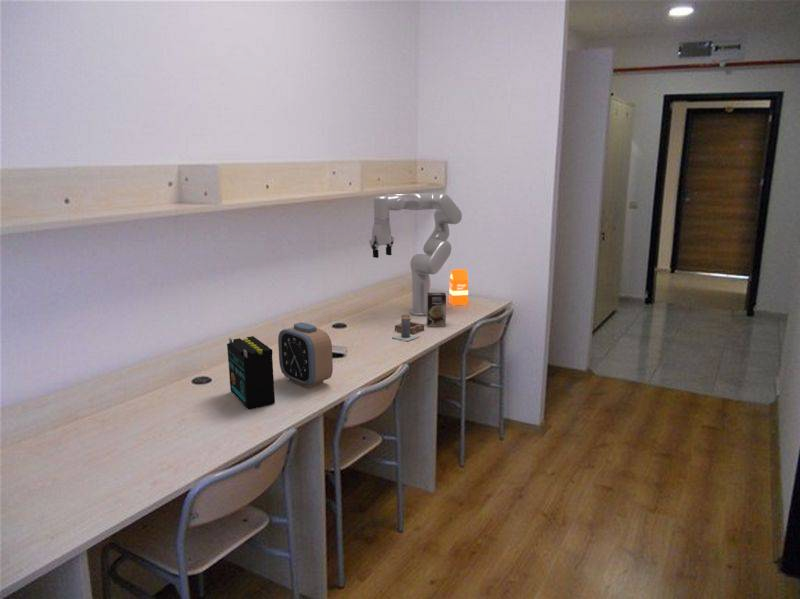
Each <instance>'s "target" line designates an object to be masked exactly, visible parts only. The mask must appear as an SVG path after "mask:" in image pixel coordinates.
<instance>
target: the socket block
mask: <svg viewBox="0 0 800 599" xmlns="http://www.w3.org/2000/svg"><path fill="white" fill-rule="evenodd" d="M395 331H397V332H396V333H399V332H401V323H398V324H395V325H394V332H395ZM420 331H421V332H425V324H423V323H420V322H419V323H418V322H415V321H410V334H413V335H416V334H418V332H419V333H421V332H420ZM415 333H416V334H415Z"/></svg>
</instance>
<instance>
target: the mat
mask: <svg viewBox="0 0 800 599" xmlns="http://www.w3.org/2000/svg"><path fill="white" fill-rule="evenodd" d="M418 337H420V335H417V334H413V335H412V334H410V337H409V338H403V337H401V333H400V334H397V335H394V336H392V337H391V338H392V339H393V338H395V339H394V340H397V339H399V340H398V341H401V340H404V341H403V342H405V341H408V342H411V341H413V340H412V339H414V340H417V339H419V338H418ZM416 338H417V339H416ZM410 340H411V341H410Z"/></svg>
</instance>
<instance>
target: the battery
mask: <svg viewBox="0 0 800 599" xmlns="http://www.w3.org/2000/svg"><path fill="white" fill-rule="evenodd" d="M228 340H229V342H228V343H226V347H227V348H226V349H227V361H228V373H229V374H228V375H229V376H228V377H229V389H230V392H231V393H232V394H233V395H234V396H235V397H236V398H237V399H238V400H239V401H240V402H241V404H242V405H243V406H244V407H245V408H246V409H247V410H253V409H258V408H262V407H268V406H272V405H274V404H276V403H275V402H276V399H275V398H276V396H275V381H274V380H275V378H274V363H273V361H274V360H273V349H271V347H269V346H268V345H267V344H265V343H263V342H262V341H260V340H259V339H258V338H256V337H255V336H254V335H253V336H247V337H245V338H243V339H242V338H240V337H239V338H233V339H232V338H231V337H229V338H228Z"/></svg>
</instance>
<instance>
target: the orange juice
mask: <svg viewBox="0 0 800 599" xmlns="http://www.w3.org/2000/svg"><path fill="white" fill-rule="evenodd" d="M448 290H449V292H448V293H449V294H448V296H449V304H450V303H451V304H452V305H453V306H452V305H451V304H450V305H451V306H452V307H456V306H455V305H463V306H469V278H468V272H467V268H459V269H458V268H457V269H456V268H455V269H451V271H450V275H449V289H448Z"/></svg>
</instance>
